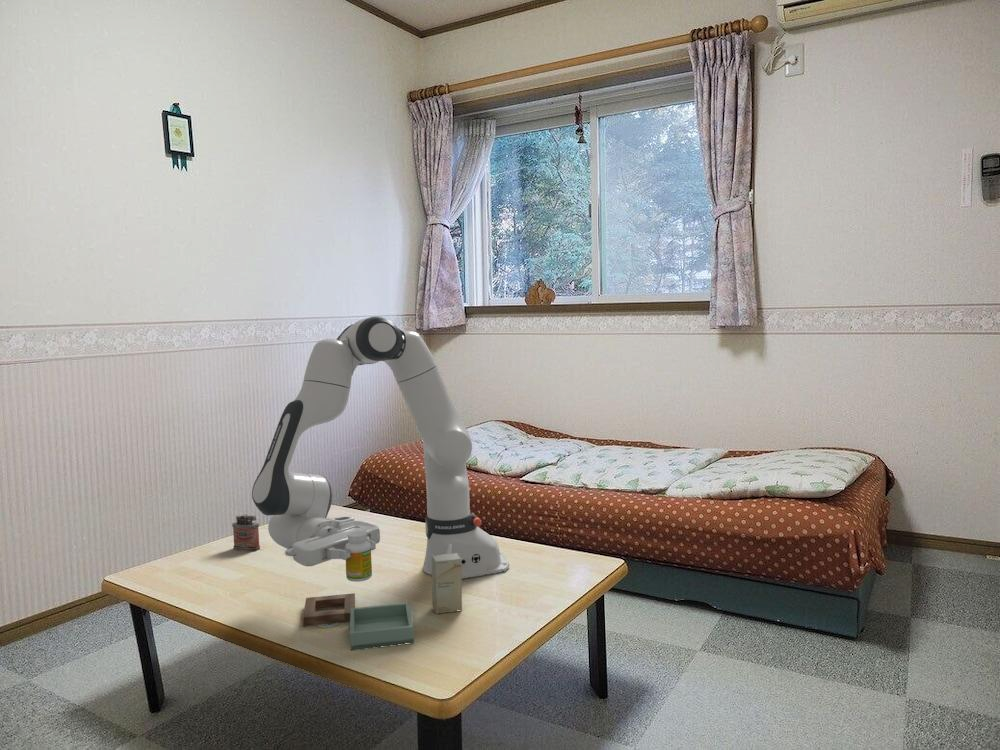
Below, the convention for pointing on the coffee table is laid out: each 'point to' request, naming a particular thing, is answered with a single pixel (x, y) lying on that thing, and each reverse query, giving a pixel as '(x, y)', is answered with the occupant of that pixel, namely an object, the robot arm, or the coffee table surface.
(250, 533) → the lighter
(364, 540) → the supplement bottle
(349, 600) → the socket block
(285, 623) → the coffee table surface
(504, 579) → the coffee table surface
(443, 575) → the skincare box
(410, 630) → the tray
